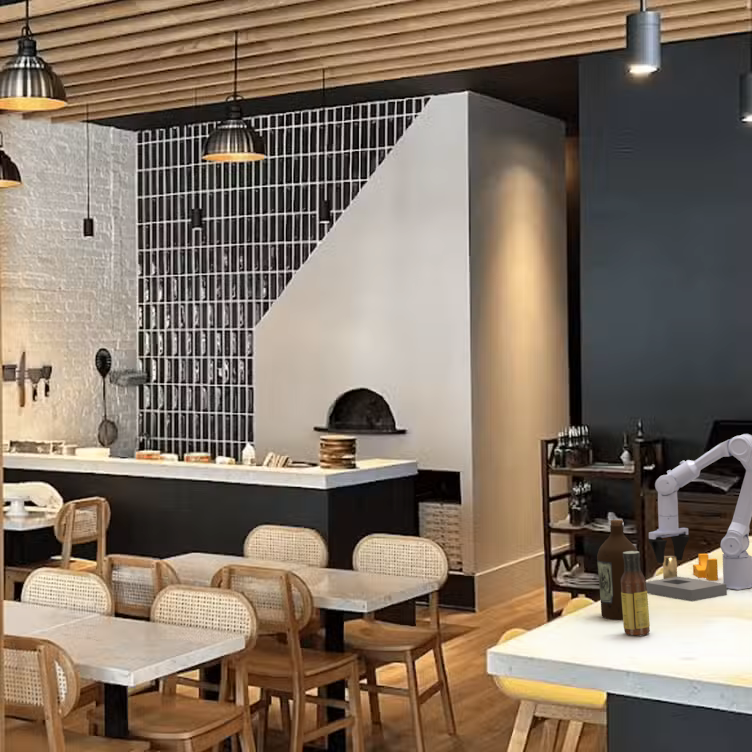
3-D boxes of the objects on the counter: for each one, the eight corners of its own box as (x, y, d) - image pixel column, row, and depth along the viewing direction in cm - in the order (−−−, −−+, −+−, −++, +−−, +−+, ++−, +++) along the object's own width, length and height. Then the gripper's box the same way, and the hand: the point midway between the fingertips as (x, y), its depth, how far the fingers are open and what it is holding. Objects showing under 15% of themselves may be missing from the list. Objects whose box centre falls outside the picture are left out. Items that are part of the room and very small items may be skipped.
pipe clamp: (693, 575, 384) (692, 554, 384) (707, 574, 384) (706, 553, 384) (703, 581, 372) (702, 559, 372) (717, 581, 372) (717, 559, 372)
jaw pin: (670, 582, 372) (669, 555, 372) (680, 583, 369) (679, 556, 369) (660, 583, 370) (659, 556, 370) (670, 585, 367) (669, 558, 367)
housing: (678, 586, 364) (678, 576, 364) (726, 594, 349) (726, 583, 349) (643, 592, 356) (643, 582, 356) (691, 601, 341) (691, 590, 341)
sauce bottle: (651, 631, 304) (648, 550, 304) (648, 637, 298) (645, 553, 298) (624, 630, 306) (621, 549, 306) (620, 636, 300) (617, 553, 300)
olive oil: (628, 611, 330) (625, 516, 330) (648, 618, 320) (645, 520, 320) (591, 614, 327) (588, 519, 327) (611, 622, 317) (607, 523, 317)
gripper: (675, 512, 377) (676, 557, 377) (640, 516, 369) (642, 562, 369) (693, 514, 371) (694, 559, 371) (658, 518, 363) (659, 565, 363)
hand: (669, 561), depth 369 cm, fingers open, 7 cm apart
